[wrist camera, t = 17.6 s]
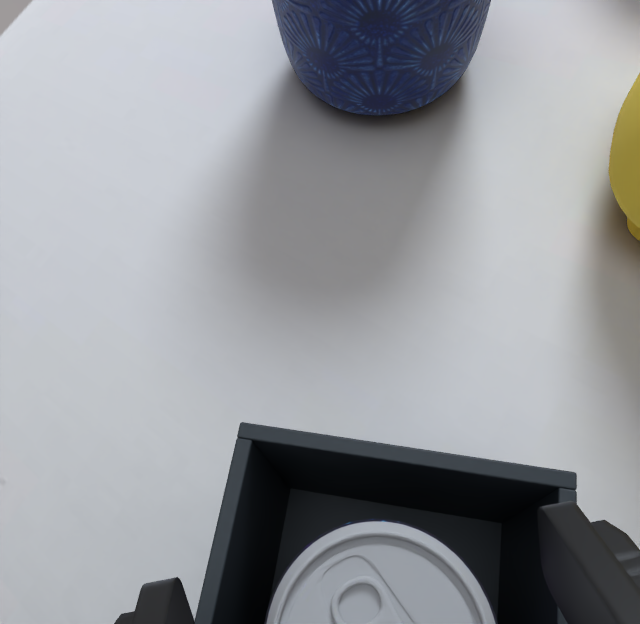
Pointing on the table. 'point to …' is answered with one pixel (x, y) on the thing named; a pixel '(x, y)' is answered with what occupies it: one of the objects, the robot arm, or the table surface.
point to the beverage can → (379, 580)
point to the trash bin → (376, 516)
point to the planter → (380, 49)
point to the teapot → (627, 159)
